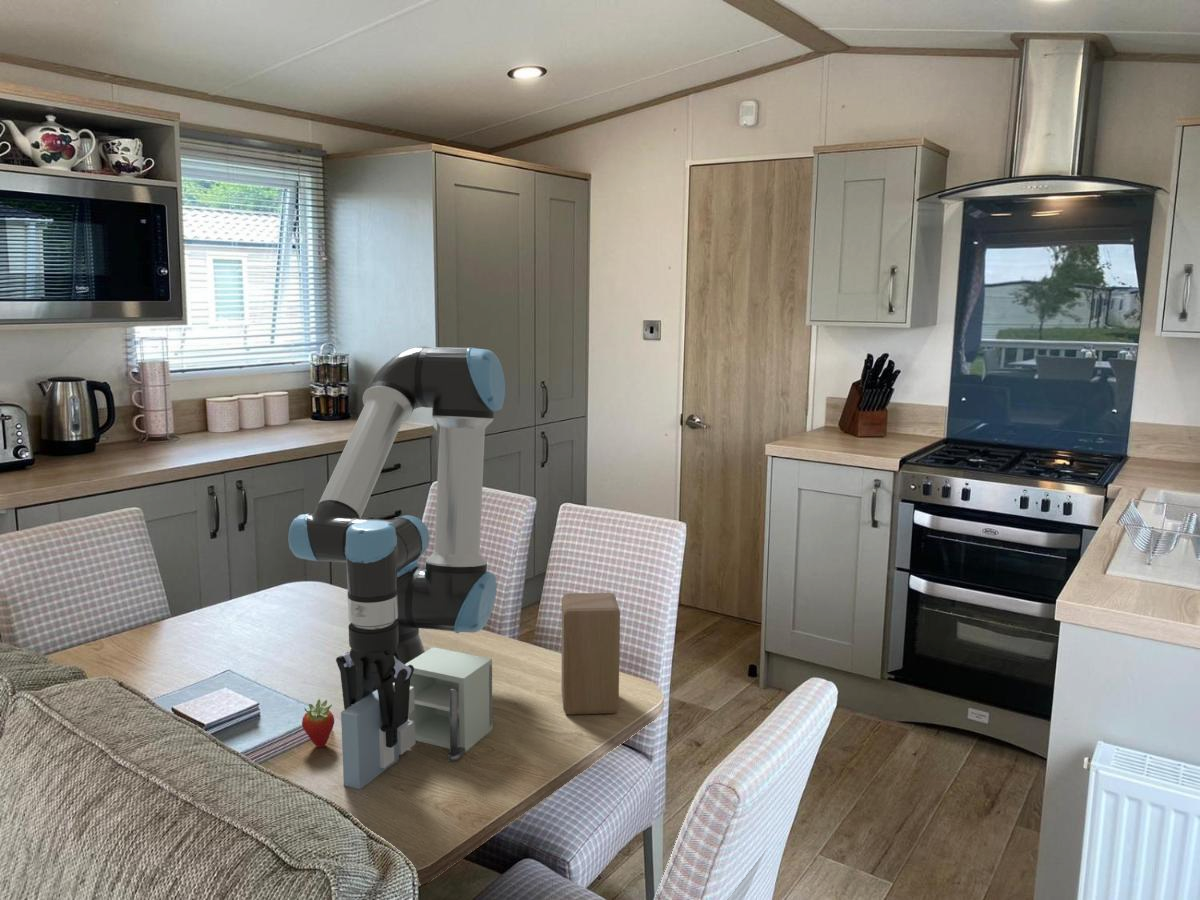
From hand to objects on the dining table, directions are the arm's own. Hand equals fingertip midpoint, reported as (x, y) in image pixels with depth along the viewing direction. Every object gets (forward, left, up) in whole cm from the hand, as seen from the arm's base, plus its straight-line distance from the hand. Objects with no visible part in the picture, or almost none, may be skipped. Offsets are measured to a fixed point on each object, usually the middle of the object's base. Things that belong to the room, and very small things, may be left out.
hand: (377, 761), depth 149 cm
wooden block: (+21, +36, -1) cm, 41 cm away
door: (0, 0, -1) cm, 1 cm away
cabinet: (+4, +15, -1) cm, 15 cm away
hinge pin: (+10, +8, -1) cm, 12 cm away
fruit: (-13, +2, -1) cm, 13 cm away
